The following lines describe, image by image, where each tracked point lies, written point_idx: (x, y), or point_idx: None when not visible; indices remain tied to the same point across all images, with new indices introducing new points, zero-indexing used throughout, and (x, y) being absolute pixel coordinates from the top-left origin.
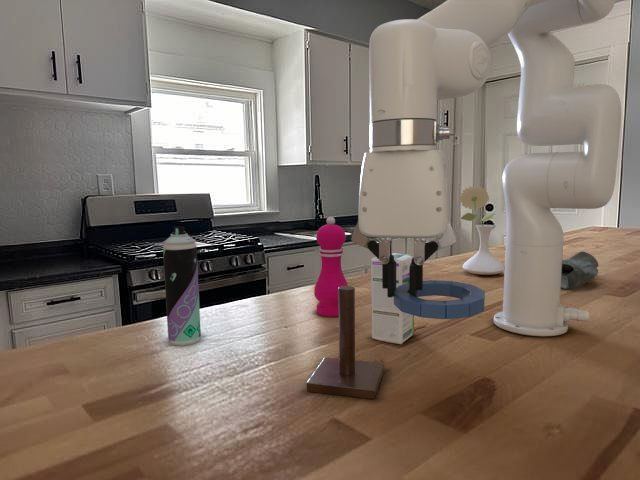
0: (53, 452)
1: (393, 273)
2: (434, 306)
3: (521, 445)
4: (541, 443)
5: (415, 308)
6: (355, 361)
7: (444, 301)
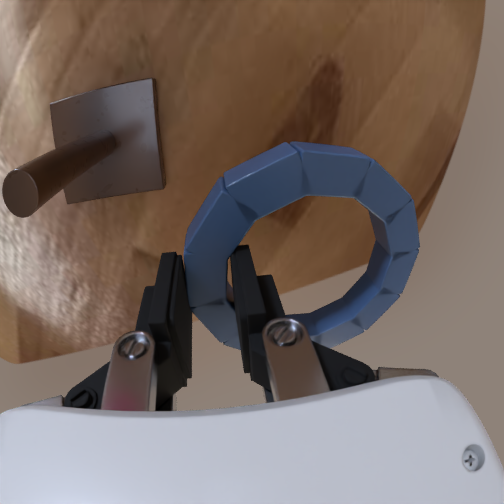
0: (6, 348)
1: (191, 361)
2: None
3: (345, 233)
4: (364, 223)
5: None
6: (101, 93)
7: (319, 337)
